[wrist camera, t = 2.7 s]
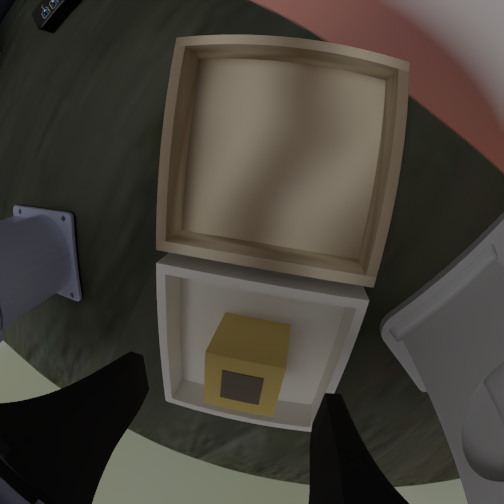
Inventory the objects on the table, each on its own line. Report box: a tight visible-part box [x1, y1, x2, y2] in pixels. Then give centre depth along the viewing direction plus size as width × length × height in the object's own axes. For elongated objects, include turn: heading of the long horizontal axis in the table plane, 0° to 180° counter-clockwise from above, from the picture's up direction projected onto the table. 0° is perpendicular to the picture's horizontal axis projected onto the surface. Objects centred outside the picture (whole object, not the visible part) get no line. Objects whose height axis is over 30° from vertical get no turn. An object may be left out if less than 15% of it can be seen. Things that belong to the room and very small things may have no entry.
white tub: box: [156, 253, 369, 432], centre depth 19 cm, size 12×12×3 cm
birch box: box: [156, 35, 409, 287], centre depth 14 cm, size 12×12×3 cm
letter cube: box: [204, 312, 291, 417], centre depth 18 cm, size 4×4×5 cm
